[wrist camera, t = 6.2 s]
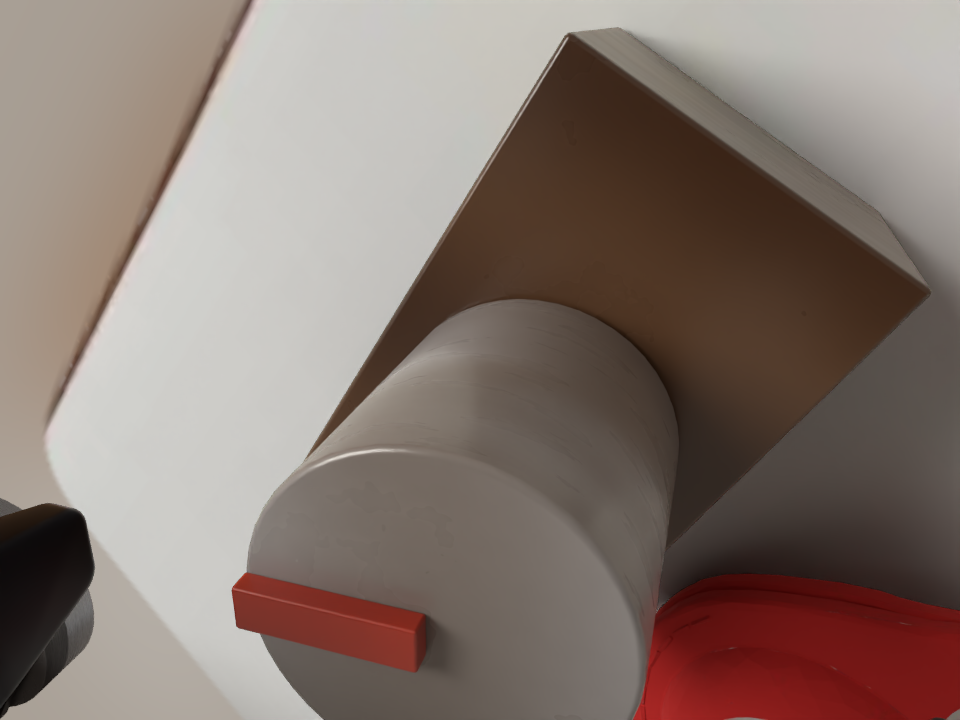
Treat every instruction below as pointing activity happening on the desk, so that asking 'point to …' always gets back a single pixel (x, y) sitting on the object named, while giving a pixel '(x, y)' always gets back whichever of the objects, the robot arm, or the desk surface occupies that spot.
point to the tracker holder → (800, 653)
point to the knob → (476, 530)
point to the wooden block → (668, 255)
